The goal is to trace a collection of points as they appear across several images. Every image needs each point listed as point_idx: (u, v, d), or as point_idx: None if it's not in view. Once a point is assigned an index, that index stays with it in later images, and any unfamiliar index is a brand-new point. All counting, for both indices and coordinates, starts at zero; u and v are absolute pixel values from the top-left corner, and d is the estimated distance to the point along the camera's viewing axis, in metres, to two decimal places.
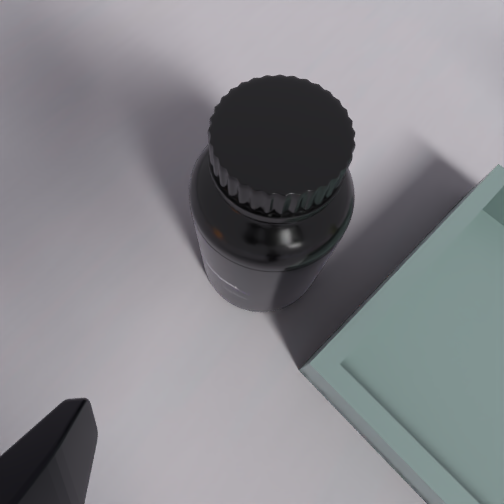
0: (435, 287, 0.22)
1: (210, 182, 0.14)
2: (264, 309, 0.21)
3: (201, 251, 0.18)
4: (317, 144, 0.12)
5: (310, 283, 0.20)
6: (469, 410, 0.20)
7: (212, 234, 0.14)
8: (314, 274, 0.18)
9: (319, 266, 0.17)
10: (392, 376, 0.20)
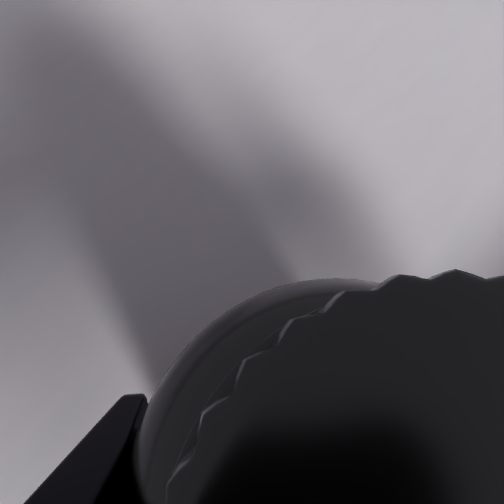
0: None
1: None
2: None
3: None
4: None
5: None
6: None
7: None
8: None
9: None
10: None
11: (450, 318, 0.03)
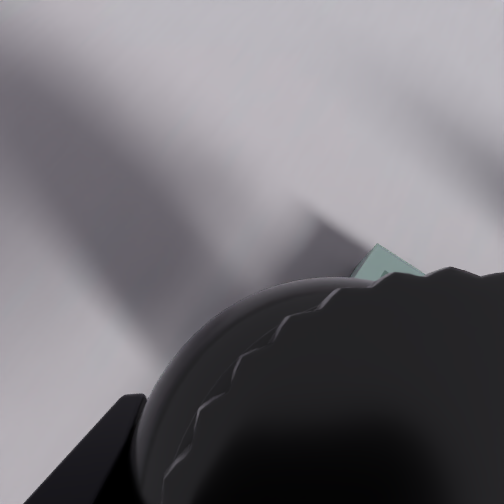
0: None
1: None
2: None
3: None
4: None
5: None
6: None
7: None
8: None
9: None
10: None
11: (445, 315, 0.03)
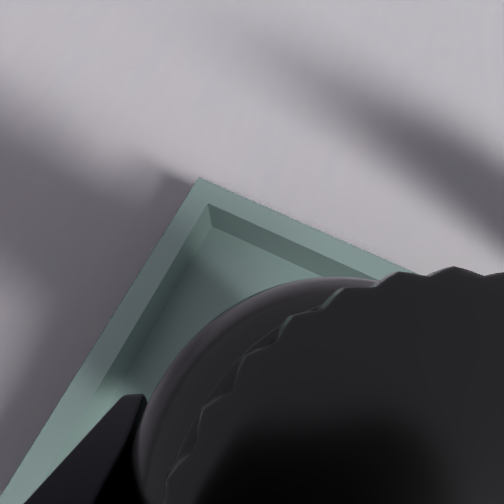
0: (171, 349, 0.18)
1: None
2: None
3: None
4: None
5: None
6: None
7: None
8: None
9: None
10: None
11: (448, 314, 0.03)
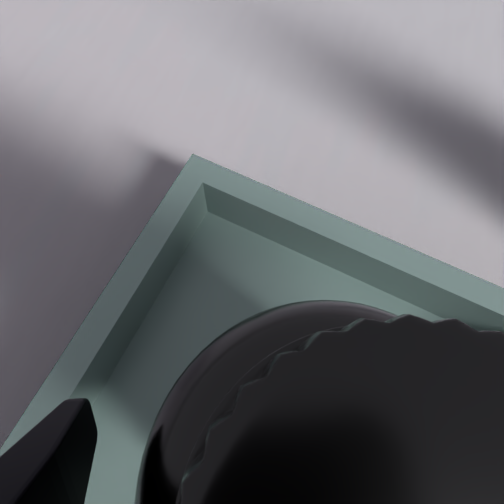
0: (160, 350, 0.15)
1: None
2: None
3: None
4: None
5: None
6: None
7: None
8: None
9: None
10: None
11: (402, 355, 0.04)
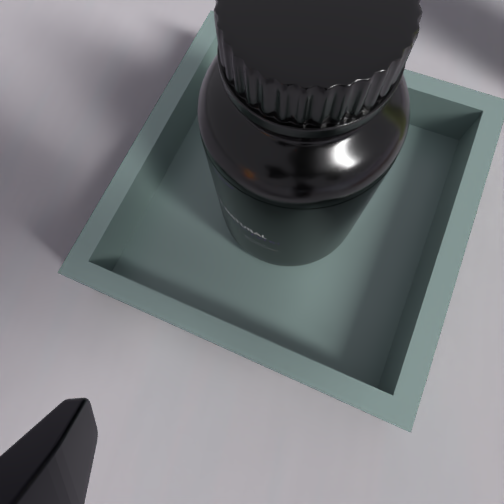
0: (198, 157, 0.21)
1: (223, 97, 0.11)
2: (296, 263, 0.18)
3: (219, 196, 0.15)
4: (368, 15, 0.09)
5: (351, 228, 0.17)
6: (253, 256, 0.20)
7: (229, 165, 0.11)
8: (358, 214, 0.15)
9: (365, 202, 0.13)
10: (173, 256, 0.20)
11: None
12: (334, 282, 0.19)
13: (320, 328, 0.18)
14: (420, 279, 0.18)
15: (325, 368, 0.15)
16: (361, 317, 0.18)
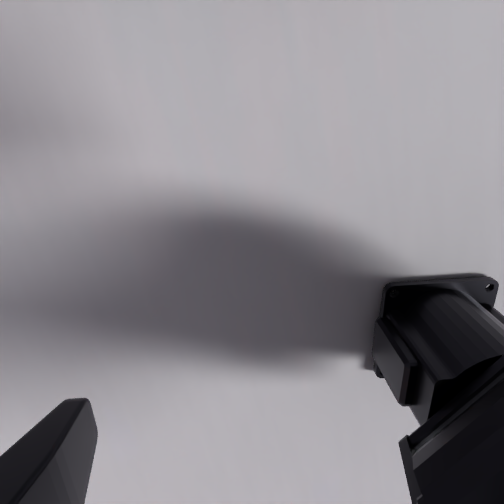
0: None
1: None
2: None
3: None
4: None
5: None
6: None
7: None
8: None
9: None
10: None
11: None
12: None
13: None
14: None
15: None
16: None
